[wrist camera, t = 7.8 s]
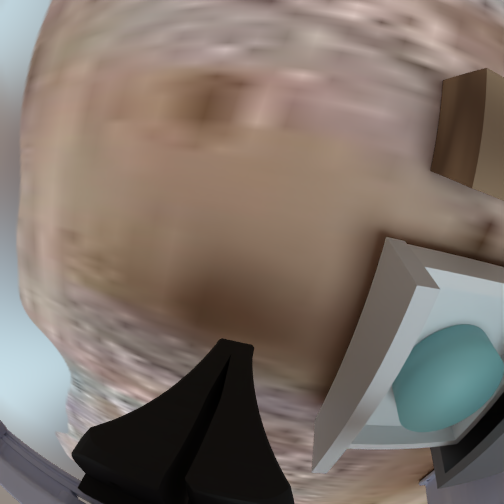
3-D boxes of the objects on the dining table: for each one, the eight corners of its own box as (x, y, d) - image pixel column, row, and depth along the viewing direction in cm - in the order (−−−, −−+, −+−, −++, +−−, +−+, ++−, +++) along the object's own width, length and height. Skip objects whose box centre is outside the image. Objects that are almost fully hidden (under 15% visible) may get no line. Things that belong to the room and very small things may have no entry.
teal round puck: (389, 413, 13) (393, 441, 11) (393, 340, 11) (404, 373, 9) (475, 388, 12) (486, 413, 10) (497, 311, 10) (517, 336, 8)
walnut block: (498, 195, 10) (543, 218, 6) (430, 171, 10) (472, 188, 7) (511, 113, 8) (559, 116, 5) (443, 80, 8) (486, 67, 5)
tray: (449, 422, 14) (460, 465, 10) (314, 419, 15) (311, 472, 12) (541, 275, 9) (579, 313, 6) (386, 236, 10) (416, 285, 7)
